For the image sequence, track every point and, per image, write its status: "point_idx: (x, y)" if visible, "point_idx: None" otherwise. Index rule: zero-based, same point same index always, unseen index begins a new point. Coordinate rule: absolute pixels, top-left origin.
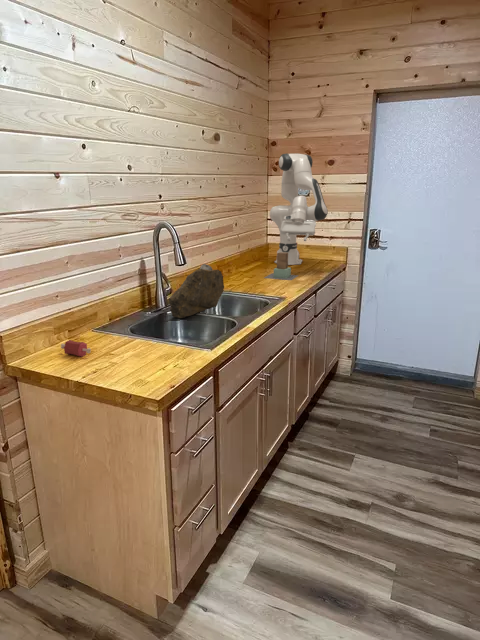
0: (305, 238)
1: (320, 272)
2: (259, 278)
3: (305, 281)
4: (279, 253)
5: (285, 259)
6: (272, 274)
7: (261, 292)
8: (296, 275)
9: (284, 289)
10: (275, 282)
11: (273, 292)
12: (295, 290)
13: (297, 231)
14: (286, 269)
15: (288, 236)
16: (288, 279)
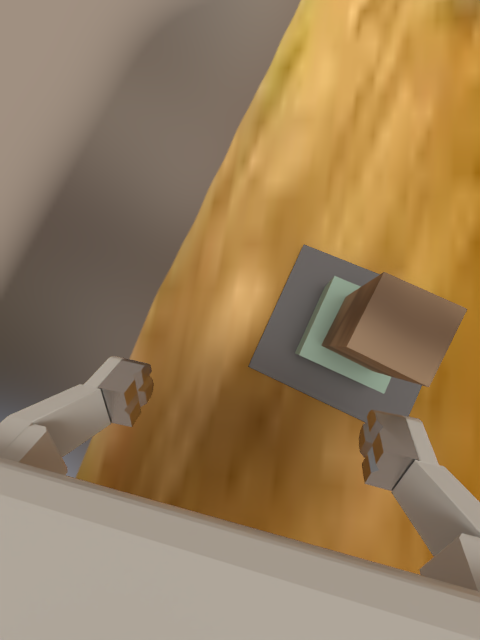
0: (112, 370)
1: (117, 468)
2: (476, 320)
3: (233, 245)
4: (441, 299)
5: (361, 292)
6: (398, 401)
7: (465, 18)
8: (261, 365)
9: (353, 80)
10: (387, 221)
11: (408, 23)
12: (305, 67)
13: (214, 529)
14: (334, 293)
15: (425, 465)
16: (316, 264)
